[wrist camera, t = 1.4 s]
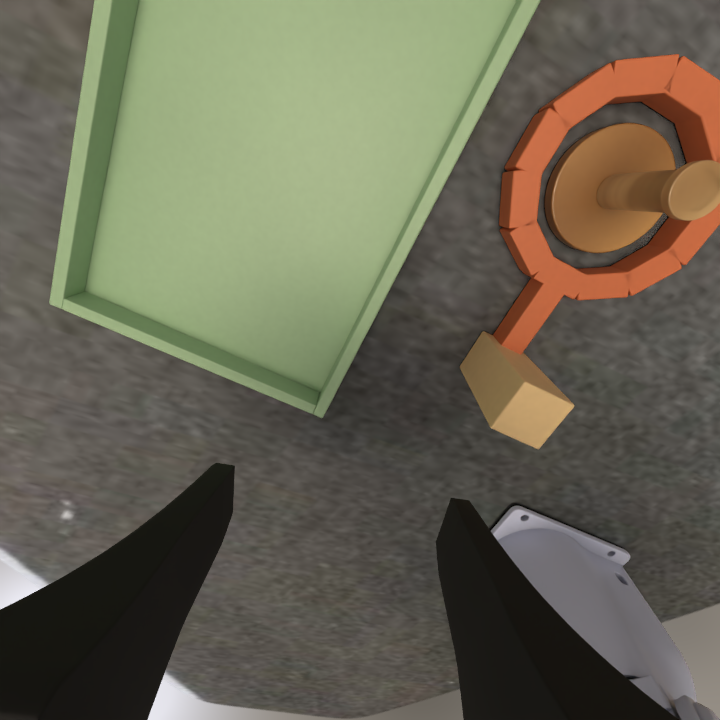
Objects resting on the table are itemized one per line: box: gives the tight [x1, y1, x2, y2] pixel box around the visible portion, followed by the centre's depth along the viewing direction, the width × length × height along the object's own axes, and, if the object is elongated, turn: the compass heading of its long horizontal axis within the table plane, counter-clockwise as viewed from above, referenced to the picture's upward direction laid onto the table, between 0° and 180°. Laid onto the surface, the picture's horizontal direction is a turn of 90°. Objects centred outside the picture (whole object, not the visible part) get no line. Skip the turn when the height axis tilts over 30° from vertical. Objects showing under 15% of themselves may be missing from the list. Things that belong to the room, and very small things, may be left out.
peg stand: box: [545, 123, 720, 253], centre depth 15 cm, size 5×5×6 cm
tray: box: [49, 0, 541, 418], centre depth 16 cm, size 14×21×2 cm
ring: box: [460, 54, 720, 449], centre depth 16 cm, size 9×15×6 cm, turn 154°
